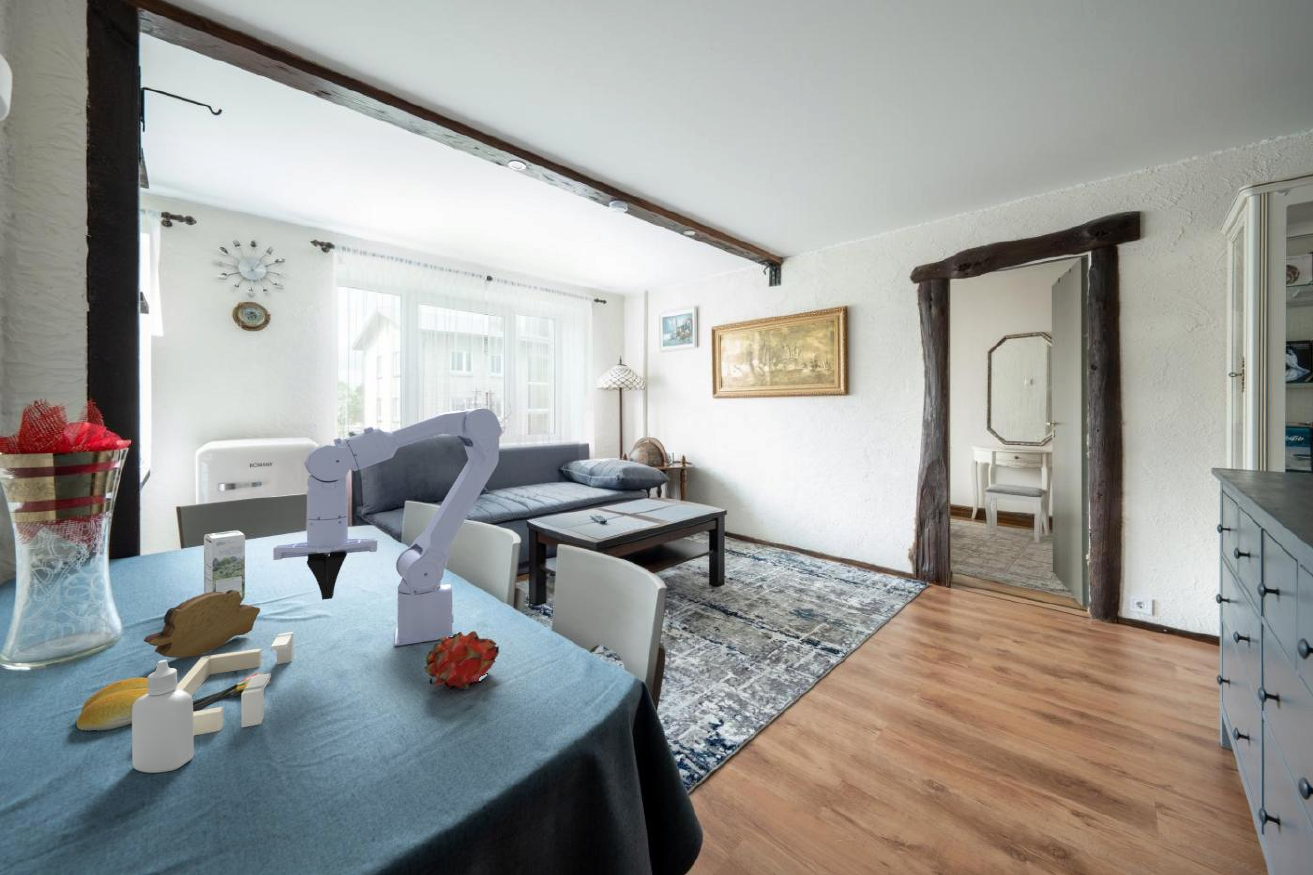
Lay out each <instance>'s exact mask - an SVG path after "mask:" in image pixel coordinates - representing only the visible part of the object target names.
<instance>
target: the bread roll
mask: <svg viewBox="0 0 1313 875" xmlns="http://www.w3.org/2000/svg"><path fill="white" fill-rule="evenodd" d="M146 694H148V677H140V676H139V677H133V678H132V677H131V678H126V679H121V680H118V681H115V682H113V683H110V684H108V685H106V686H105V687H103V688H101V689H100V690H98V691H97V692H96V693H94V694H93V695H92V696H90V697H88V698H87V700H86V701H85V702H84V704H83V706H82V708H81V711H80V714H79V716H78V717H77V720H76V725H77V726H76V727H77V728H78V729H80V730H81V731H84V730H85V731H87V730H88V732H91V731H90V730H97V731H106V730H108V731H109V730H114V729H117V728H122V727H126V726H128V725H132V707H133V704H134V702H135V701H136V700H137V699H139V698H140V697H142V696H144V695H146Z"/></svg>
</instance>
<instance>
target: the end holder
mask: <svg viewBox="0 0 1313 875" xmlns="http://www.w3.org/2000/svg"><path fill="white" fill-rule="evenodd" d="M262 653H263V652H262V648H255V649H253V648H252V649H249V650H248V649H247V650H242V651H234V652H227V653H226V652H225V653H218V654H213V655H212V654H211V655H204V656H201V657H200V659H199V660H198V661H197V662H195V664H194V665H193V666H192V667H191V669H190V670H188V672H187V673H186V674H185V675H184V677H183V678H182V679H181V680H180V681H179V682H177V687H176V688H179V689H181V690H184V691H185V692H187V693H188V694H190V695H191V697H192V698H193V695H194V694H195V693H196V692H197V691H198V690H199V688H200V687H202V684H203V683H204V682H205V681H206V680H207V678H208V677H209V675H215V674H221V673H228V672H229V673H230V672H233V671H234V672H235V671H241V670H246V669H254V668H259V667H261V665H262ZM223 727H224V706H218V707H213V708H206V709H202V710H201V709H200V710H196V711H193V735H194V736H198V735H200V736H201V735H204V734H209V733H215V732H220V731H221V730H222V729H223Z"/></svg>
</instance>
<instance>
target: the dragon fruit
mask: <svg viewBox="0 0 1313 875" xmlns="http://www.w3.org/2000/svg"><path fill="white" fill-rule="evenodd" d="M438 641H441V642H435V643H434V644H433V647H432V650H429V651H428V654H426V656H425V659H426V661H425V664H426V666H424V668H423V669H424V670H425V673H426V674H427V675H429V676H430V678H429V683H428V684H429V685H431V686H433V687H436V686H440V685H442V684H443V686H444V688H445V689H447V690H448V689H449V690H450V689H451V687H453V686H454V687H458V689H463V691H465V690H467V689H469V686H470V684H471V683H476V682H477V683H478V682H479V678H480V677H481V676H483V675H485V674H488V675H489V672H488V671H489V670H490V669H491V668H492V666H493V665H494V664H495V663H496V658H498V655H499V652H500V650H499V649H500V646H499V645H497V643H496V642H495V641H494V640H493V639H492V638H490V639H489V638H480V637H479V635H478V633H477V631H475V630H473V631H470V633H468V634H467V635H464V634H463V632H461V631H459V632H458V633H454V634H452V637H451V638H447V637H442V638H440V639H439V640H438ZM496 645H497V646H496ZM433 678H435V681H433ZM479 683H480V682H479Z"/></svg>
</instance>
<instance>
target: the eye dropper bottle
mask: <svg viewBox="0 0 1313 875" xmlns="http://www.w3.org/2000/svg"><path fill="white" fill-rule="evenodd" d="M147 678H148V694H146V695H144V696H142V697H140V698H139V699H137V700H136V701H135V702H134V704H133V707H132V723H131V746H132V750H131V752H132V754H131V755H132V767H133V769H134V770H137V771H139V772H142V773H148V774H152V773H153V774H157V773H165V772H171V771H175V770H177V769H179V768H180V767H182V766H184V765H185V764H186V763H189V761H191V760H192V759H193V758H194V753H195V750H194V749H195V748H194V747H195V746H194V745H195V744H194V738H195V735H193V712H194V711H193V701H194V700H193V696H192V697H191V695H190V694H188V693H187V692H185V691H184V690H181V689H179V688H176V687H177V685H178V670H177V669H176V668H172V667H169V664H168V660H167V659H162V660H159V661H157V665H156V669H155V671H153V672H152V673H150V674H149V675H148V676H147Z"/></svg>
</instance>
